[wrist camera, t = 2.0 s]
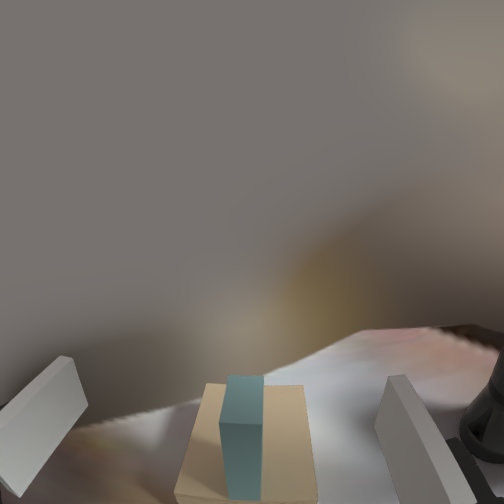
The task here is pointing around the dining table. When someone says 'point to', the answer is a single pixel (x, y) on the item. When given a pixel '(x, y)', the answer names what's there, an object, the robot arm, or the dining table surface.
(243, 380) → the carton lid
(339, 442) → the dining table surface
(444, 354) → the dining table surface
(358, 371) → the dining table surface
